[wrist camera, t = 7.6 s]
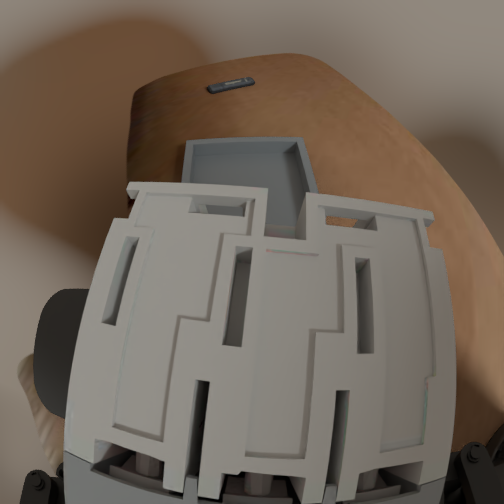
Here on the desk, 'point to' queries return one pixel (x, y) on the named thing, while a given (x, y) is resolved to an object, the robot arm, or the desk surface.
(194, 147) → the tray
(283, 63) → the desk surface
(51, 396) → the media streaming box
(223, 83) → the usb stick
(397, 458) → the circuit breaker
